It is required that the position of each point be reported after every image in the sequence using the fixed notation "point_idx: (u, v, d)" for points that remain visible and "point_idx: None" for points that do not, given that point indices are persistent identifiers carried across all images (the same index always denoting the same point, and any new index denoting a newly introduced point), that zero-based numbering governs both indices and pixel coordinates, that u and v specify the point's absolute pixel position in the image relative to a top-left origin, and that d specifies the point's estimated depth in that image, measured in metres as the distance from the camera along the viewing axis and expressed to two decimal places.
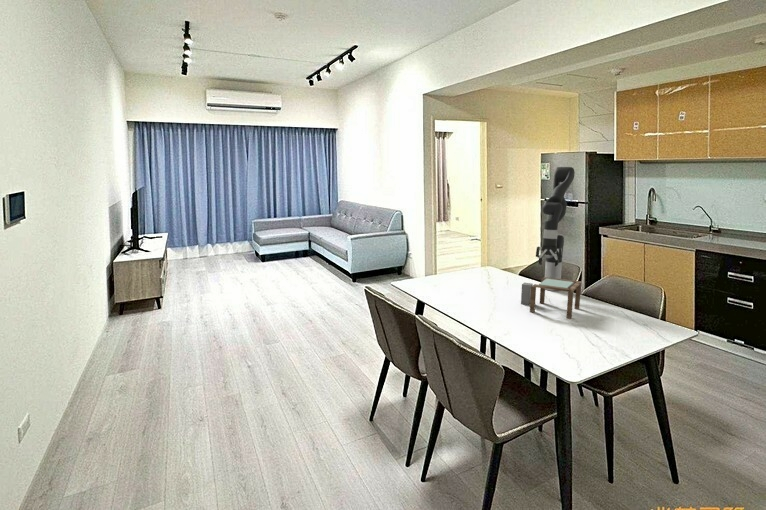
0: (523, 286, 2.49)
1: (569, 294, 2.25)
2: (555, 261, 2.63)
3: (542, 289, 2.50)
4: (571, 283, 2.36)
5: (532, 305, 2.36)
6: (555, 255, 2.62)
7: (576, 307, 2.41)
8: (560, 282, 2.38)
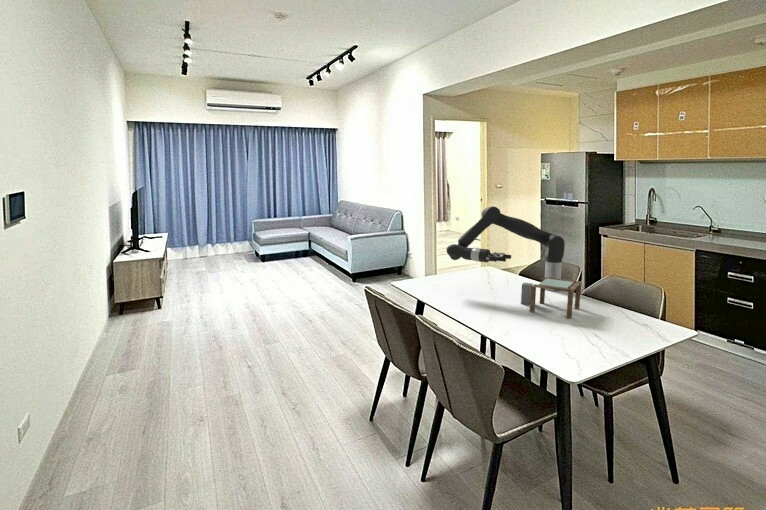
0: (523, 286, 2.49)
1: (569, 294, 2.25)
2: (500, 260, 2.52)
3: (542, 289, 2.50)
4: (571, 283, 2.36)
5: (532, 305, 2.36)
6: None
7: (576, 307, 2.41)
8: (560, 282, 2.38)
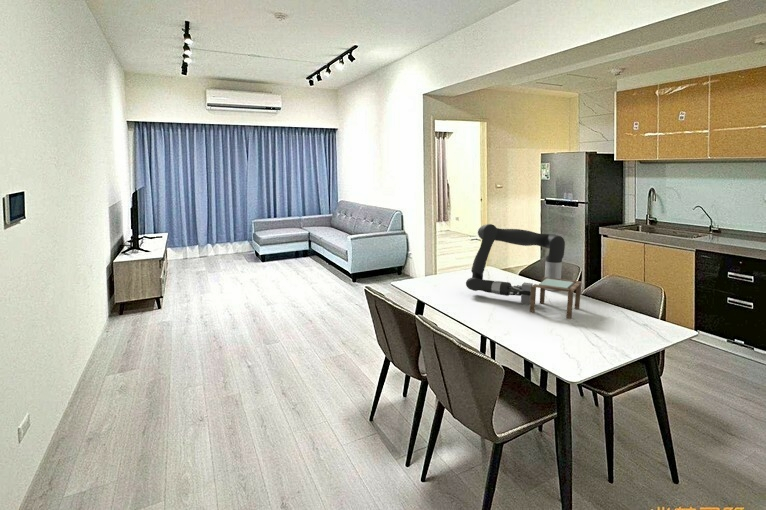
0: (523, 286, 2.49)
1: (569, 294, 2.25)
2: (525, 294, 2.49)
3: (542, 289, 2.50)
4: (571, 283, 2.36)
5: (532, 305, 2.36)
6: None
7: (576, 307, 2.41)
8: (560, 282, 2.38)
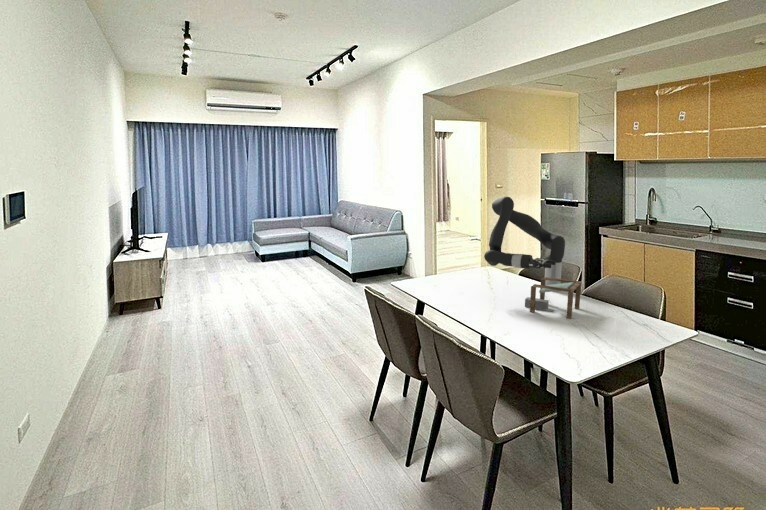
0: (526, 305, 2.45)
1: (569, 294, 2.25)
2: None
3: None
4: (571, 283, 2.36)
5: (532, 305, 2.36)
6: (538, 267, 2.37)
7: (576, 307, 2.41)
8: (560, 285, 2.38)
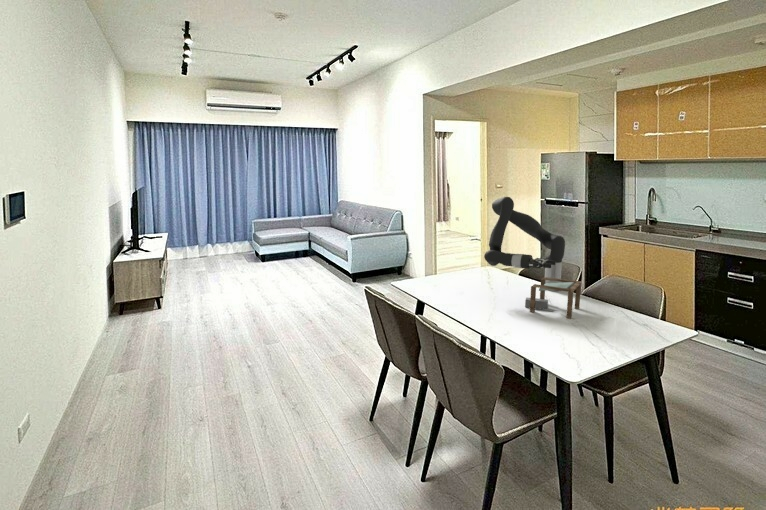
0: (527, 306, 2.44)
1: (569, 294, 2.25)
2: None
3: None
4: (571, 283, 2.36)
5: (532, 305, 2.36)
6: (538, 267, 2.37)
7: (576, 307, 2.41)
8: (560, 284, 2.38)
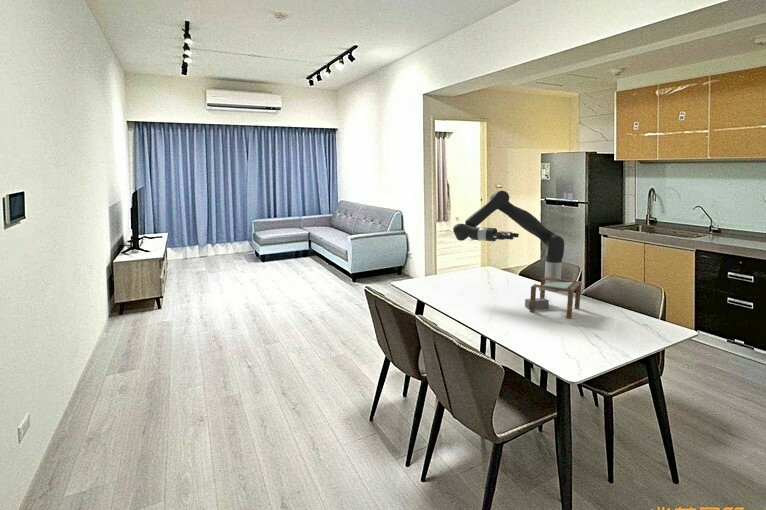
0: None
1: (569, 294, 2.25)
2: None
3: None
4: (571, 283, 2.36)
5: (532, 305, 2.36)
6: None
7: (576, 307, 2.41)
8: (560, 284, 2.38)
